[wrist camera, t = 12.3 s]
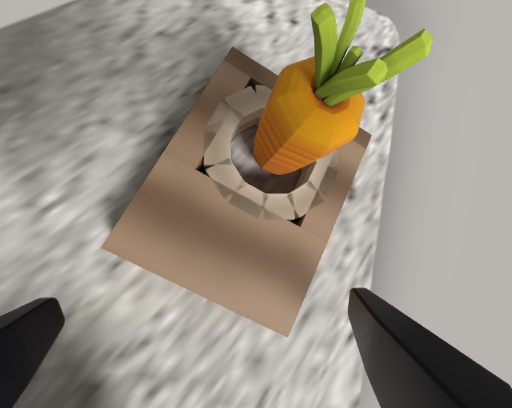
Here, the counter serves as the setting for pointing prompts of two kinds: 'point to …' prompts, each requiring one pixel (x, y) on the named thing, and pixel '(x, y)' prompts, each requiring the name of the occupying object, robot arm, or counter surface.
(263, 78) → the hole board
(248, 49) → the counter surface
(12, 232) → the counter surface
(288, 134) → the carrot
